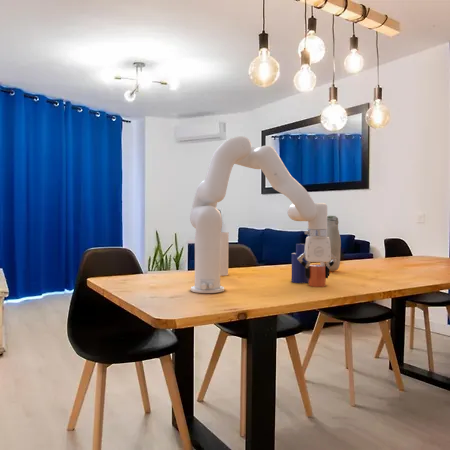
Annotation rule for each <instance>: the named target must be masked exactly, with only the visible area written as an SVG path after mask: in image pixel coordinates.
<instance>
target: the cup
mask: <svg viewBox="0 0 450 450" xmlns="http://www.w3.org/2000/svg"><path fill="white" fill-rule="evenodd" d="M309 269H310V278H308V283H307V286H309V287H315V288H323V287H326V285H327V278H326V266H325V265H320V264H310V265H309Z"/></svg>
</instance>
